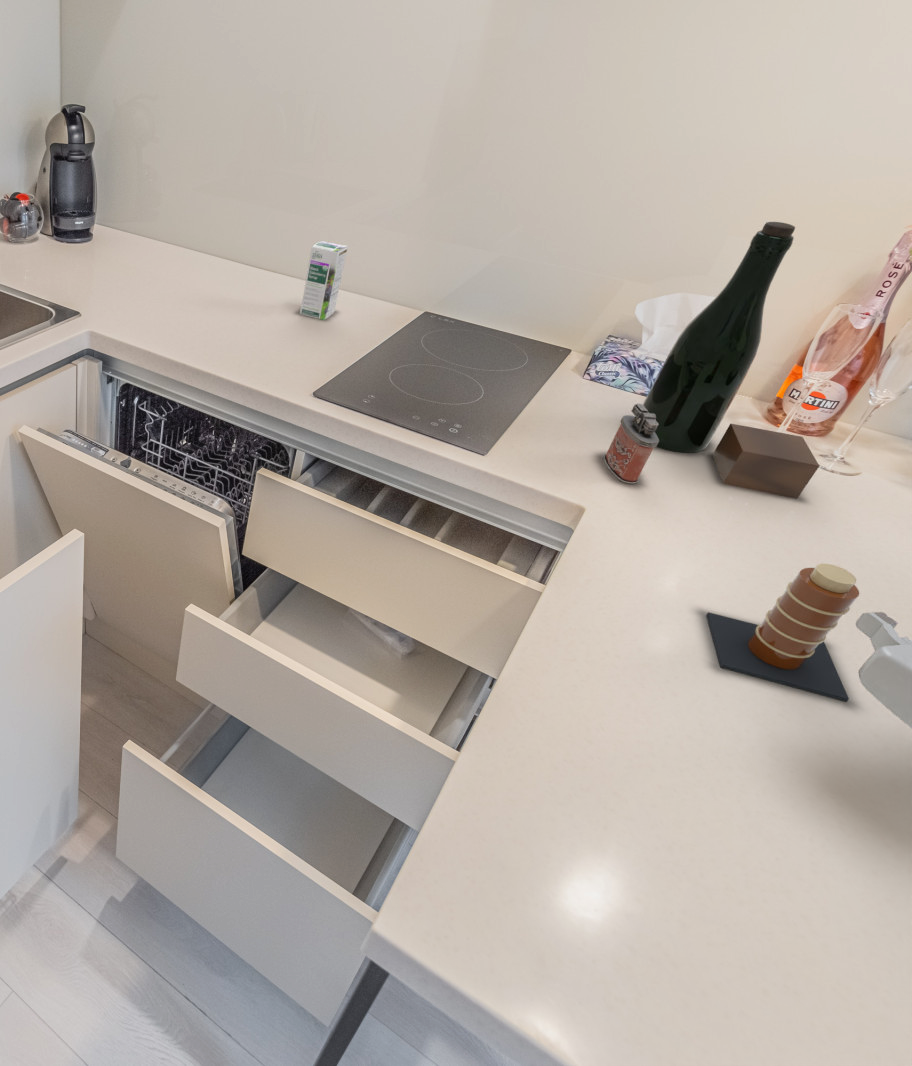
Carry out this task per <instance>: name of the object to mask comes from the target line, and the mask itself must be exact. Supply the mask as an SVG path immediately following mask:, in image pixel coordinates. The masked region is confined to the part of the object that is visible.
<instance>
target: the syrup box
mask: <svg viewBox="0 0 912 1066" xmlns="http://www.w3.org/2000/svg"><path fill="white" fill-rule="evenodd" d="M348 248H349V247H348V245H344V244H338V243H333V242H329V241H326V240H325V241H324V240H321V241H318V242H316V243H315V244H313V245H312V246H311V248H310V255H309V261H308V265H307V271H306V277H305V284H304V290H303V293H302V294H303V295H302V300H301V305H300V310H299V315H303V316H306V317H310V318H315V319H319V320H322V321H325V320H326V319H328V318H329V317H331V316H332V315H333V314H334V313H335V310H336V305H337V301H338V295H339V291H340V286H341V282H342V277H343V271H344V266H345V262H346V256H347V252H348Z"/></svg>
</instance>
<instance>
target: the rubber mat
mask: <svg viewBox="0 0 912 1066" xmlns="http://www.w3.org/2000/svg"><path fill="white" fill-rule="evenodd" d="M706 620H707V624H708V628H709V631H710V634H711V639H712V643H713V646H714V650H715V653H716V658H717V661H718V665H719V668H720V669H724V670H728V671H732V672H735V673H739V674H742V675H746V676H749V677H753V678H756V679H760V680H764V681H768V682H771V683H775V684H779V685H782V686H786V687H790V688H793V689H796V690H797V689H798V690H801V691H805V692H808V693H812V694H814V695H815V694H816V695H820V696H823V697H827V698H830V699H834V700H838V701H841V702H844V703H847V702H848V701H849V699H850V698H849V695H848V693H847V691H846V689H845V686H844V685H843V682H842V680H841V677H840V675H839V673H838V671H837V668H836V666H835V663H834V661H833V659H832V656H831V654H830V653H829V649H828V648H827V646H826V643H825V641H823V642H822V643H820V644H819V645H818V646H817V647H816V648H815V652H814V654H813V655H812V656H810V657H808V658H807V659H806V661H805V662H804V663H803V664H802V665H801V667H799V668H797V669H793V670H788V669H782V668H778V667H775V666H772V665H770V664H768V663H766V662H764V661H762V660H761V659H759V658H758V657H757V656H755V655H754V654H753V653H752V652H751V650H750V649H749V647H748V641H749V640H750V638H751V637H752V636H753V634H754V633H755V630H756V627H757V626H758V625H759V624H756V623H753V622H748V621H744V620H740V619H736V618H733V617H728V616H726V615H725V616H724V615H720V614H717V613H712V612H709V611H708V612H707V613H706Z"/></svg>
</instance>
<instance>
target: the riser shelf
mask: <svg viewBox="0 0 912 1066" xmlns="http://www.w3.org/2000/svg"><path fill="white" fill-rule="evenodd" d="M712 458H713V461H714V463H715V466H716V468H717V472H718V474H719V477H720V480H721V482H722V484H723V485H728V486H733V487H736V488H737V487H738V488H743V489H747V490H751V491H757V492H761V493H768V494H772V495H777V496H781V497H786V498H790V499H791V498H792V499H797V500H798V498H799V497H800V495H801V494H802V492H803V491H804V489H805V488H806V486H807V485H808V484H809V482H810V480H811V479H812V478H813V476H814V475H815V473H816V472H817V470H818V469H819V467H820V464H819V462H818V461H817V459H816V457H815V456H814V453H813V452H812V450H811V449H810V447H809V445H808V444H807V442H806V441H805V439H804V436H801V435H795V434H790V433H784V432H781V431H780V432H779V431H773V430H768V429H763V428H757V427H752V426H747V425H741V424H735V423H729V425H728V427H727V429H726V430H725V432H724V433H723V436H722V437H721V439H720V441H719V443H718V444H717V446H716V448H715V450H714V451H713V453H712Z"/></svg>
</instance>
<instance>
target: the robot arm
mask: <svg viewBox="0 0 912 1066" xmlns="http://www.w3.org/2000/svg"><path fill="white" fill-rule="evenodd" d="M898 624H899V623H898V621H896V620H894V619H893V618H892V617H890V616H888V615H887V614H886V613H885V612H883V611H871V612H864V613H862V614H861V615H860V616H859V617H858V619H856V620H855V627H856V628H857V630H859V631H860V632H861V633H863V634H864V635H866V637H868V638H869V640H870V643H871V645H872V647H873V649H874V652H872V654H871V655H870V656H869V657H868V658H867V659H866V660H865V662H864V663H863V664H862V665H861V666H860V667H859V669H858V673H857V674H858V679H859V682H860V683H861V685H862V686H863V687H864V689H865V690H866V691H868V693H869V694H870V695H872V697H874V698H875V699H876V700H877V701H878V702H879V703H880V704H882V706H884V707H885V708H886V709H887V710H888V711H890V712H891V713H892V714H893V715H894V716H896V717H897V718H898V719H899V720H900V721H902V722H903V723H904V724H906V725H907V726H908V727H909V728H911V729H912V639H910V638H908V637H906V636H902V637H901V636H899V634H898V632H897V631H896V630H895V628H896V626H897V625H898Z"/></svg>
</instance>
